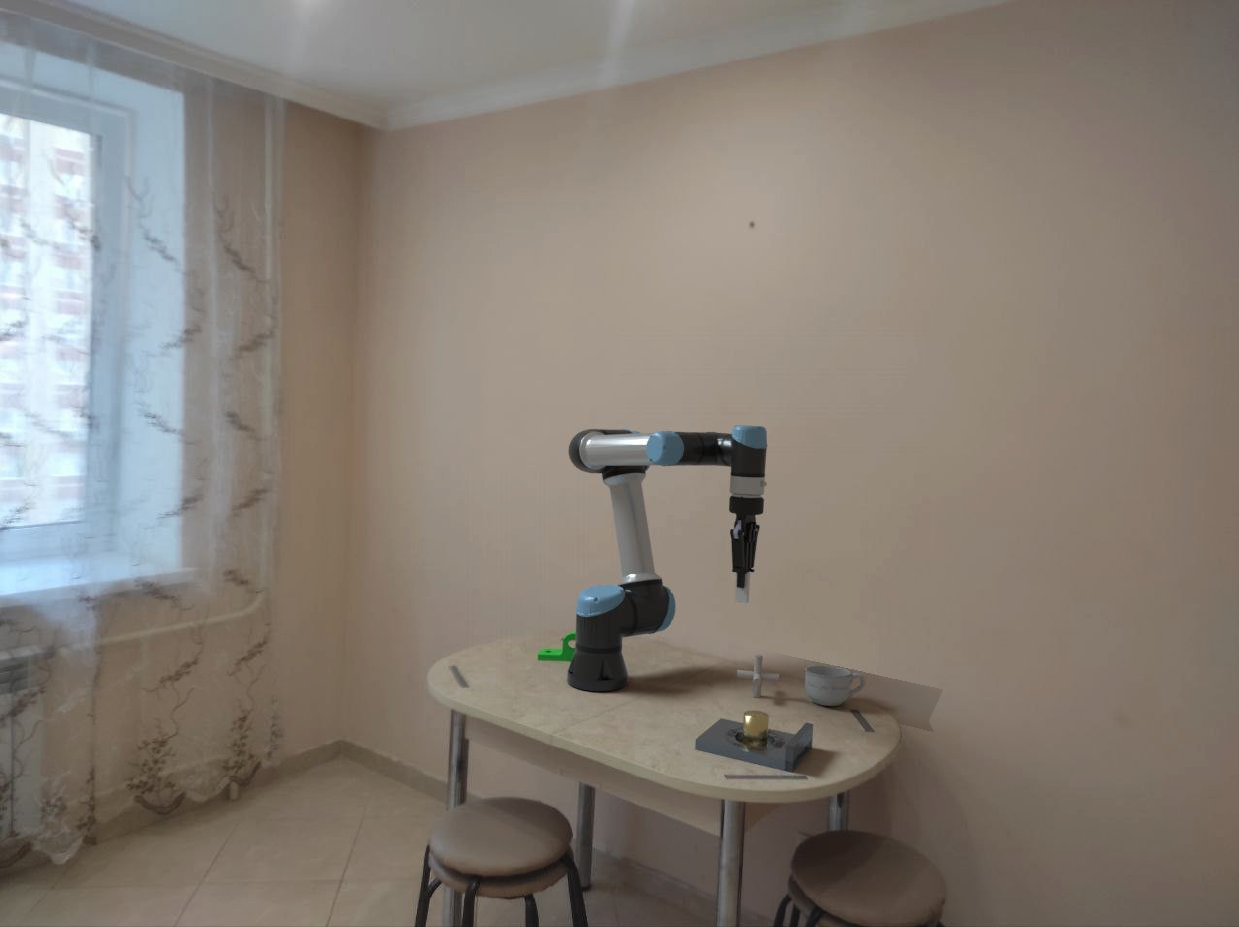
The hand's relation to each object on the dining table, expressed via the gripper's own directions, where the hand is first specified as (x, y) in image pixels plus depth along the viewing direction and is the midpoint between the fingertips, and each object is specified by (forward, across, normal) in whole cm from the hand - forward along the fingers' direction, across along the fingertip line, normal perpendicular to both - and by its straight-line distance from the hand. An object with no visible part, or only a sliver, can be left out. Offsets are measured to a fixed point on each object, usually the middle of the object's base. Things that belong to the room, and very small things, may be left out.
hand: (741, 601), depth 184 cm
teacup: (+27, +23, -16) cm, 39 cm away
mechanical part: (+27, +16, +56) cm, 64 cm away
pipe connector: (+27, +17, +1) cm, 32 cm away
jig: (+26, -14, -9) cm, 31 cm away
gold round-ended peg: (+26, -14, -9) cm, 31 cm away
